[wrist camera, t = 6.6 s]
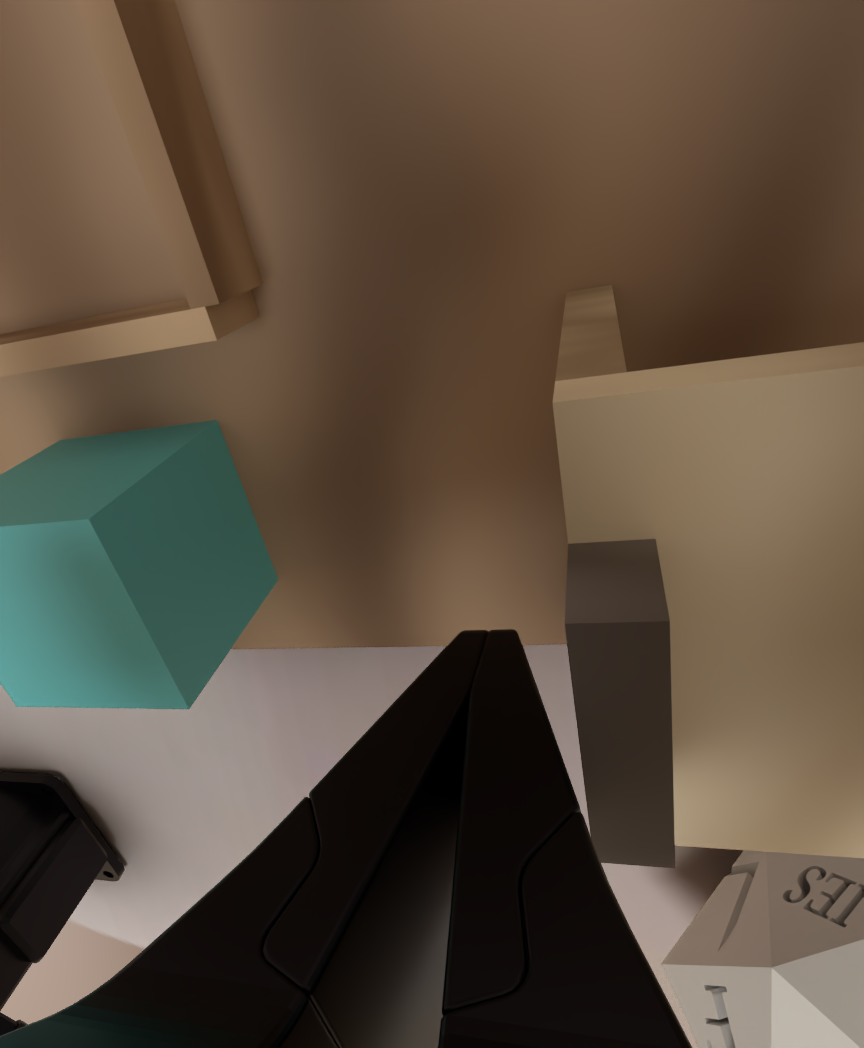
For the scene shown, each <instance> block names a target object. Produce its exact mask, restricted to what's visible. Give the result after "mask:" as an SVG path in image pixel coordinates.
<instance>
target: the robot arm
mask: <svg viewBox="0 0 864 1048" xmlns="http://www.w3.org/2000/svg"><path fill="white" fill-rule="evenodd" d="M309 797H310V798H308V797H305V798H304V799H303V800H302V801H301V802H300V803H299V804H298V805H297V806H296V807H295V808H294V809H293V810H292V811H291V813H290V814H289V815H288V816H287V817H286V818H285V819H284V820H283V821H282V822H281V823H280V824H279V825H278V826H277V827H276V828H275V829H274V830H273V831H272V832H271V833H270V834H269V835H268V836H267V837H266V838H265V839H264V840H263V841H262V842H261V843H260V844H259V845H258V846H257V847H256V848H255V849H254V850H253V851H252V852H251V853H250V854H249V855H248V856H247V857H246V858H245V859H244V860H243V861H242V862H240V863H239V864H238V865H237V866H236V867H235V868H234V869H233V870H232V871H231V872H230V873H229V874H228V875H227V876H225V877H224V878H223V879H222V880H221V881H220V882H219V883H218V884H217V885H216V886H215V887H214V888H212V889H211V890H210V891H209V892H208V893H207V894H206V895H205V896H203V897H202V898H201V899H200V900H199V901H198V902H197V903H196V904H195V905H193V906H192V907H191V908H190V909H189V910H188V911H187V912H186V913H184V914H183V915H182V916H181V917H180V918H179V919H178V920H177V921H176V922H174V923H173V924H172V925H171V926H170V927H169V928H168V929H167V930H166V931H164V932H163V933H162V934H161V935H160V936H159V937H158V938H157V939H155V940H154V941H153V942H152V943H151V944H150V945H149V946H148V947H147V948H145V949H144V950H143V951H142V952H141V953H140V954H139V955H138V956H136V957H135V958H134V959H133V960H132V961H131V962H130V963H129V964H128V965H126V966H125V967H124V968H123V969H122V970H121V971H119V972H118V973H117V974H116V975H115V976H113V977H112V978H111V979H110V980H108V981H107V982H106V983H104V984H103V985H102V986H100V987H99V988H97V989H96V990H95V991H93V992H92V993H90V994H89V995H87V996H86V997H84V998H83V999H81V1000H79V1001H78V1002H76V1003H74V1004H73V1005H71V1006H69V1007H67V1008H65V1009H63V1010H61V1011H59V1012H57V1013H55V1014H53V1015H51V1016H49V1017H46V1018H44V1019H42V1020H39V1021H37V1022H34V1023H31V1024H29V1025H28V1024H26V1023H25V1022H23V1021H21V1020H18V1021H14V1020H12V1019H11V1018H9V1017H7V1016H6V1015H4V1014H2V1013H0V1048H692V1046H691V1044H690V1042H689V1041H688V1039H687V1037H686V1035H685V1033H684V1031H683V1029H682V1027H681V1025H680V1023H679V1021H678V1019H677V1017H676V1015H675V1013H674V1012H673V1010H672V1008H671V1006H670V1004H669V1002H668V1000H667V998H666V996H665V994H664V992H663V990H662V988H661V986H660V985H659V983H658V981H657V979H656V977H655V975H654V973H653V971H652V969H651V967H650V965H649V963H648V961H647V959H646V958H645V956H644V954H643V952H642V950H641V948H640V946H639V944H638V942H637V940H636V938H635V936H634V934H633V932H632V931H631V928H630V926H629V924H628V922H627V920H626V918H625V916H624V914H623V912H622V910H621V908H620V906H619V903H618V901H617V899H616V897H615V895H614V893H613V891H612V889H611V887H610V885H609V883H608V880H607V878H606V875H605V872H604V870H603V867H602V865H601V862H600V860H599V857H598V855H597V852H596V850H595V847H594V845H593V842H592V840H591V837H590V834H589V831H588V828H587V825H586V823H585V820H584V817H583V815H582V814H581V811H580V807H579V804H578V801H577V798H576V795H575V792H574V790H573V787H572V784H571V781H570V778H569V776H568V773H567V770H566V767H565V764H564V761H563V759H562V756H561V753H560V750H559V747H558V745H557V742H556V739H555V736H554V733H553V730H552V728H551V725H550V722H549V719H548V716H547V714H546V711H545V708H544V705H543V702H542V700H541V697H540V694H539V691H538V688H537V685H536V683H535V680H534V677H533V674H532V671H531V669H530V666H529V663H528V660H527V657H526V654H525V652H524V649H523V646H522V643H521V640H520V638H519V635H518V632H517V631H516V630H514V629H497V630H490V631H487V630H465V631H462V632H460V633H459V634H458V635H457V636H456V637H455V638H454V639H453V640H452V641H451V642H450V643H449V644H448V645H447V647H446V648H445V649H444V650H443V651H442V652H441V653H440V654H439V655H438V656H437V657H436V658H435V659H434V660H433V661H432V663H431V664H430V665H429V666H428V667H427V668H426V669H425V670H424V671H423V672H422V673H421V674H420V675H419V676H418V677H417V679H416V680H415V681H414V682H413V683H412V684H411V685H410V686H409V687H408V688H407V689H406V690H405V691H404V692H403V693H402V695H401V696H400V697H399V698H398V699H397V700H396V701H395V702H394V703H393V704H392V705H391V706H390V707H389V708H388V709H387V710H386V712H385V713H384V714H383V715H382V716H381V717H380V718H379V719H378V720H377V721H376V722H375V723H374V724H373V725H372V726H371V728H370V729H369V730H368V731H367V732H366V733H365V734H364V735H363V736H362V737H361V738H360V739H359V740H358V741H357V742H356V744H355V745H354V746H353V747H352V748H351V749H350V750H349V751H348V752H347V753H346V754H345V755H344V756H343V757H342V758H341V760H340V761H339V762H338V763H337V764H336V765H335V766H334V767H333V768H332V769H331V770H330V771H329V772H328V773H327V774H326V776H325V777H324V778H323V779H322V780H321V781H320V782H319V783H318V784H317V785H316V786H315V787H314V788H313V789H312V790H311V792H310V793H309ZM124 870H125V869H124V867H123V865H122V864H121V862H120V861H119V860H118V858H117V857H116V855H115V854H114V853H113V851H112V850H111V848H110V847H109V846H108V844H107V843H106V841H105V840H104V839H103V837H102V836H101V834H100V833H99V832H98V830H97V829H96V827H95V826H94V825H93V823H92V822H91V820H90V819H89V818H88V816H87V815H86V813H85V812H84V811H83V809H82V808H81V806H80V805H79V804H78V802H77V801H76V799H75V798H74V797H73V795H72V794H71V792H70V791H69V790H68V788H67V787H66V786H65V784H64V783H63V782H62V781H61V780H60V779H59V778H57V777H55V776H53V775H48V774H31V773H11V772H0V1011H1V1009H2V1008H3V1006H4V1004H5V1003H6V1002H7V1000H8V998H9V997H10V996H11V994H12V992H13V991H14V990H15V988H16V986H17V985H18V984H19V982H20V981H21V979H22V978H23V976H24V974H25V973H26V972H27V970H28V968H29V967H30V966H31V964H32V963H37V962H39V961H40V960H41V959H42V958H43V957H44V955H45V954H46V952H47V950H48V949H49V948H50V946H51V945H52V943H53V942H54V940H55V939H56V937H57V936H58V934H59V933H60V931H61V930H62V928H63V926H64V925H65V924H66V922H67V921H68V919H69V917H70V916H71V914H72V913H73V911H74V910H75V908H76V907H77V905H78V904H79V902H80V901H81V899H82V898H83V896H84V895H85V893H86V892H87V890H88V889H89V887H90V886H91V884H92V883H93V881H94V880H95V879H97V880H107V881H118V880H119V878H120V877H121V875H122V874H123V872H124Z"/></svg>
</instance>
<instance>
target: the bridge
mask: <svg viewBox="0 0 864 1048" xmlns="http://www.w3.org/2000/svg"><path fill="white" fill-rule="evenodd" d="M552 403H553V412H554V421H555V430H556V439H557V448H558V457H559V466H560V475H561V484H562V493H563V502H564V511H565V520H566V529H567V538H568V559H567V582H566V605H565V630H566V638H567V646H568V655H569V663H570V671H571V679H572V687H573V695H574V703H575V712H576V720H577V728H578V736H579V744H580V752H581V760H582V768H583V777H584V785H585V793H586V801H587V809H588V817H589V825H590V833H591V840H592V842H593V845H594V847H595V850H596V852H597V855H598V857H599V860H600V862H601V863H614V864H627V865H640V866H653V867H666V868H675V846H689V847H703V848H718V849H733V850H748V851H763V852H777V853H792V854H807V855H822V856H837V857H851V858H864V342H861V343H853V344H845V345H837V346H829V347H822V348H814V349H806V350H798V351H790V352H782V353H774V354H766V355H758V356H751V357H743V358H735V359H727V360H719V361H711V362H703V363H695V364H688V365H680V366H672V367H664V368H656V369H648V370H640V371H632V372H627V370H626V364H625V358H624V353H623V347H622V341H621V335H620V329H619V324H618V318H617V312H616V306H615V300H614V294H613V289H612V285H607V286H601V287H595V288H589V289H583V290H577V291H571V292H566V299H565V307H564V315H563V323H562V331H561V339H560V347H559V354H558V362H557V370H556V378H555V386H554V394H553V402H552Z"/></svg>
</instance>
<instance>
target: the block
mask: <svg viewBox="0 0 864 1048" xmlns="http://www.w3.org/2000/svg"><path fill="white" fill-rule="evenodd" d="M277 581H278V577H277V575H276V572H275V570H274V567H273V564H272V562H271V559H270V557H269V554H268V551H267V549H266V546H265V544H264V541H263V538H262V536H261V533H260V530H259V528H258V525H257V523H256V520H255V517H254V515H253V512H252V510H251V507H250V504H249V502H248V499H247V497H246V494H245V491H244V489H243V486H242V483H241V481H240V478H239V476H238V473H237V470H236V468H235V465H234V463H233V460H232V457H231V455H230V452H229V449H228V447H227V444H226V442H225V439H224V436H223V434H222V431H221V429H220V426H219V423H218V421H217V420H212V421H204V422H197V423H189V424H181V425H173V426H166V427H158V428H150V429H142V430H135V431H127V432H119V433H111V434H104V435H96V436H88V437H80V438H72V439H65V440H59V441H58V442H56V443H54V444H53V445H51V446H49V447H47V448H46V449H44V450H42V451H41V452H39V453H37V454H35V455H34V456H32V457H30V458H28V459H27V460H25V461H23V462H22V463H20V464H18V465H16V466H15V467H13V468H11V469H10V470H8V471H6V472H4V473H3V474H1V475H0V684H1V685H2V686H3V688H4V689H5V691H6V692H7V693H8V695H9V696H10V698H11V699H12V701H13V702H14V703H15V705H16V706H17V707H82V708H147V709H189V708H190V707H191V706H192V704H193V703H194V701H195V700H196V698H197V697H198V695H199V694H200V693H201V691H202V690H203V688H204V687H205V685H206V684H207V682H208V681H209V680H210V678H211V677H212V675H213V674H214V672H215V671H216V669H217V668H218V666H219V665H220V664H221V662H222V661H223V659H224V658H225V656H226V655H227V653H228V652H229V651H230V649H231V648H232V646H233V645H234V643H235V642H236V640H237V639H238V638H239V636H240V635H241V633H242V632H243V630H244V629H245V627H246V626H247V625H248V623H249V622H250V620H251V619H252V617H253V616H254V614H255V613H256V611H257V610H258V609H259V607H260V606H261V604H262V603H263V601H264V600H265V598H266V597H267V596H268V594H269V593H270V591H271V590H272V588H273V587H274V585H275V584H276V583H277Z"/></svg>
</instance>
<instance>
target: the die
mask: <svg viewBox="0 0 864 1048" xmlns="http://www.w3.org/2000/svg"><path fill="white" fill-rule="evenodd" d="M661 965H662V968H663V970H664V972H665V974H666V977H667V979H668V981H669V983H670V986H671V988H672V990H673V992H674V995H675V997H676V999H677V1001H678V1004H679V1006H680V1008H681V1010H682V1013H683V1015H684V1017H685V1019H686V1022H687V1024H688V1026H689V1028H690V1031H691V1033H692V1035H693V1037H694V1040H695V1042H696V1044H697V1046H698V1048H864V858H851V857H837V856H822V855H807V854H792V853H777V852H763V851H748V850H744V851H743V852H742V853H741V855H740V856H739V857H738V859H737V860H736V862H735V863H734V864H733V866H732V872H731V873H730V874H728V875H727V876H725V877H724V878H723V880H722V881H721V882H720V884H719V885H718V886H717V888H716V889H715V891H714V892H713V893H712V895H711V896H710V897H709V899H708V900H707V902H706V903H705V904H704V906H703V907H702V908H701V910H700V911H699V913H698V914H697V915H696V917H695V918H694V920H693V921H692V922H691V924H690V925H689V926H688V928H687V929H686V931H685V932H684V933H683V935H682V936H681V937H680V939H679V940H678V942H677V943H676V944H675V946H674V947H673V948H672V950H671V951H670V953H669V954H668V955H667V957H666V958H665V960H664V961H663V962H662V964H661Z"/></svg>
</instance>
